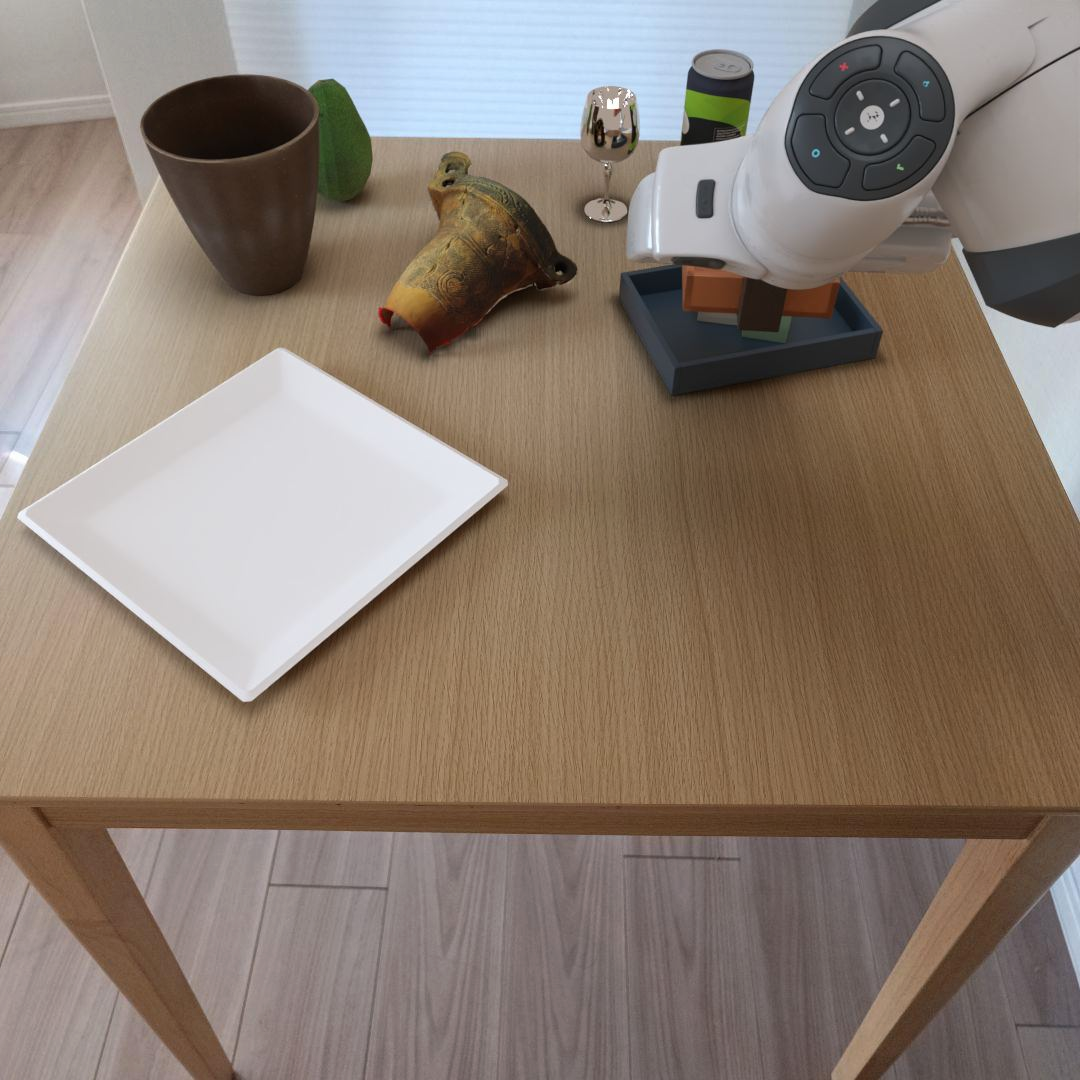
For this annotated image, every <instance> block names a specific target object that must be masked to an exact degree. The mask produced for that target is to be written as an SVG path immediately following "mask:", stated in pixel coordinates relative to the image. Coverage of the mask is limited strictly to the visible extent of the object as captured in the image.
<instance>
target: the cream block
mask: <svg viewBox="0 0 1080 1080" xmlns="http://www.w3.org/2000/svg"><path fill="white" fill-rule="evenodd" d="M697 321H702V322H710V323H718V324H727V325H735V326H737V314H731V313H711V312H698V317H697Z"/></svg>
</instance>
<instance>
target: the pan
mask: <svg viewBox="0 0 1080 1080" xmlns="http://www.w3.org/2000/svg"><path fill="white" fill-rule="evenodd" d="M839 285H840V280H839V278H838V279H836V280H834V281H832V282H830V283H828V284H826V285H823V286H820V287H816V288H811V289H802V290H796V289H785V288H781V287H777V286H774V285H771V284H769V283H767V282H765V281H763V280H761V279H752V278H748V277H745V276H741V275H738V274H735V273H732V272H728V271H724V270H720V269H718V270H716V269H710V268H704V267H695V266H685V265H682V300H683V311H691V312H711V313H731V314H737V327H738V330H743V331H762V332H779V328H780V323H781V318H782V316H789V317H809V318H829V319H831V318H832V314H833V310H834V305H835V301H836V297H837V293H838V289H839Z"/></svg>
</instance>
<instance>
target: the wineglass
mask: <svg viewBox="0 0 1080 1080" xmlns="http://www.w3.org/2000/svg"><path fill="white" fill-rule="evenodd" d="M640 122H641V121H640V110H639V104H638V99H637V96H636V94H635V93H634V92H633V91H632V90H631V89H628V88H625V87H622V86H617V85H605V86H604V85H603V86H599V87H595V88H594V89H592V90H589V92H588V94H587V96H586V99H585V103H584V107H583V110H582V115H581V120H580V126H579V127H580V128H579V134H580V143H581V146H582V149H583V150H584V151H585V153H586V155H587V156H588V157H589V158H591V159H592V160H594V161H596V162H599V163H602V164H603V167H602V175H603V177H604V192H603V193H604V194H603V197H599V198H595V199H592V200H590V201H588V202H587V203H586V204H585V206H584V208H583V211H584V214H585V215H586V216H587V218H589V219H590V220H593V221H596V222H599V223H614V222H619V221H620V220H622V219H624V218H625V217H626V216H627V214H628V213H629V210H628V207H627V206H626V204H625V203H624V202H622V201H620V200H618V199H616V198H610V183H611V179H612V175H613V172H614V165H613V164H617V163H621V162H623V161H625V160H627V159H629V157H631V156H632V155H633V153H634V152H635V150H636V149H637V147H638V144H639V139H640V135H641V134H640V132H641V123H640Z"/></svg>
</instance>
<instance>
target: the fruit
mask: <svg viewBox="0 0 1080 1080" xmlns="http://www.w3.org/2000/svg"><path fill="white" fill-rule="evenodd" d="M307 90H308V91H309V92H310V93H311V94H312V95H313V97H314V98H315V99H316V101H317V104H318V108H319V174H318V190H317V195H318V196H320V197H322V198H324V199H326V200H330V201H334V202H340V203H341V202H345V201H350V200H353V199H354V198H355V197H356V196H358V195H359V194H360V193H361V192H362V190H363V189H364V188H365V186H366V184H367V182H368V180H369V178H370V176H371V173H372V167H373V160H374V156H373V155H374V154H373V145H372V138H371V136H370V133H369V131H368V128H367V126H366V124H365V122H364V120H363V118H362V117H361V115H360V113H359V111H358V109H357V107H356V105H355V103H354V100H353V99H352V97H351V96H350V94H349V92H348V90H347V88H346V87H345V86H344V85H342V84H341V83H340V82H339V81H338V80H336V79H334V78H327V79H318V80H317V81H315V82H314V83H313V84H312V85H311V86H310V87H309V88H308V89H307Z"/></svg>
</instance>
